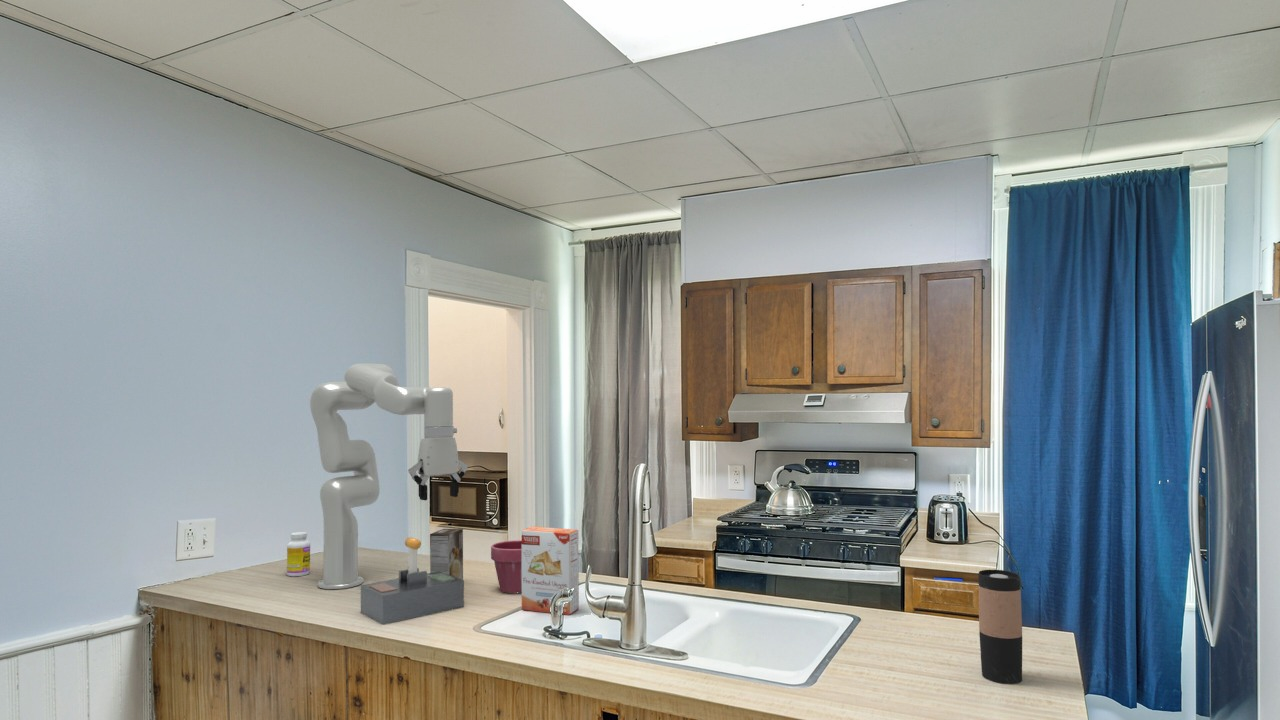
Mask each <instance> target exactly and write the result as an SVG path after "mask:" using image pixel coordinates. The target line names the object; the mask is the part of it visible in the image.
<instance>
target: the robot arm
mask: <svg viewBox="0 0 1280 720" xmlns="http://www.w3.org/2000/svg"><path fill="white" fill-rule="evenodd" d="M343 377H344V379H343V380H344V381H329V382H324V383H323V382H322V383H319V385H317V386H316V387H315V388H314V389H313V391H312V392H311V394H310V395H311V396H310V399H309V407H310V408H309V409H310V411H311V412H310V413H311V416H312V419H313V421H314V425H315V428H316V433H317V442H318V447H319V455H320V463H321V466H322V468H323V470H324V471H325V472H327V473H330V474H338V473H348V472H350V473H351V472H352V473H353V475H346V476H345V475H344V476H337V477H333V478H330V479H328V480H326V481H325V482H324V483H323V484H322V485H321V487H320V491H319V498H320V503H321V508H322V509H321V510H322V517H323V520H322V521H323V568H322V569H323V573H322V574H323V578H322V579H320V580H319V581H317V587H318V588H320V589H324V590H343V589H348V588H349V589H350V588H354V587H356V586H361V585H363V583H364V578H363V577H362V576H360V575H359V573H358V570H359V569H358V568H359V566H358V564H359V562H358V561H359V556H358V555H359V550H358V549H359V524H358V519H357V517H356V516H355V513H354V512H353V510H352V509H353V508H358V507H364V506H370V505H372V504H374V503H376V501H377V500H378V498H379V496H380V480H379V472H378V468H377V461H376V453H375V451H374V449H373V447H372V445H371V444H370V442H369V441H366V440H364V439H350V436H349V431H348V425H347V424H346V423H347V422H346V421H345V420H344V419H343V417H342V416H341V414H340V413H338V411H349V410H350V411H351V410H352V411H353V410H364V409H367V408H369V407H371V406H372V405H374V404H376V406H378V408H379V409H381V410H384V411H386V412H389V413H392V414H394V415H397V416H398V415H399V416H408V415H423V416H424V417H423V420H424V421H423V431H424V432H423V433H424V434H423V435H424V436H423V437H424V438H421V439H420V443H419V448H418V456H417V463H415V464H414V465H413V466H412V467H410V468H409V469H408V473H409V475H410V476H411V479H412V480H413V481H414V482H415V483H416V485H417V486H418V497H419V500H420V501H427V500H428V485H427V482H428V480H429V478H430V477H441V476H448V477H449V478H450V479H451V481H450V482H449V496H450V497H454V498H457V497H459V491H460V490H459V489H460V487H459V486H460V485H459V483H460V482H461V479H462V478H463V477H464V476H465V473H466V472H467V470H468V467H469V466H468V464H466V463H465V462H463V461H462V460H460V459H459V453H458V452H459V451H458V446H457V441H456V438H455V437H454V435H455V434H457V432H458V428H456V427H455V428H454V393H453V389H452V388H449V387H430V386H429V387H428V386H399V380H398V378H397V377H396V376H395V372H394V370H393V369H392V368H391V367H390V366H389V365H387V364H384V363H366V362H365V363H355V364H353V365H350V366H349V367H348V368H347V369H346V370H345V372H344V376H343ZM418 474H419V475H420V476H419V475H418Z"/></svg>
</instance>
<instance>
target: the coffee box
mask: <svg viewBox="0 0 1280 720" xmlns="http://www.w3.org/2000/svg"><path fill="white" fill-rule="evenodd" d="M429 562H430V563H429V565H430V566H429V571H430V572H429V573H432V572H438V571H440V572H443V573H445V574H448V575H451V576H453V577H456V578H459V579H462V580H464V529H463V528H441V529H439V530H437V531H435V532H432V533H429Z"/></svg>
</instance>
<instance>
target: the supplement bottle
mask: <svg viewBox="0 0 1280 720" xmlns="http://www.w3.org/2000/svg"><path fill="white" fill-rule="evenodd" d="M307 537H308V532H306V531H296V532H292V533H290V539H291V540H290V541H289V542H288V543H287V544H286V545H287V547H286V551H287V553H286V575H287V576H289V577H302V576H303V577H304V576H307V575H308V574H310V572H311V542H310V540H308V539H307Z"/></svg>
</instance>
